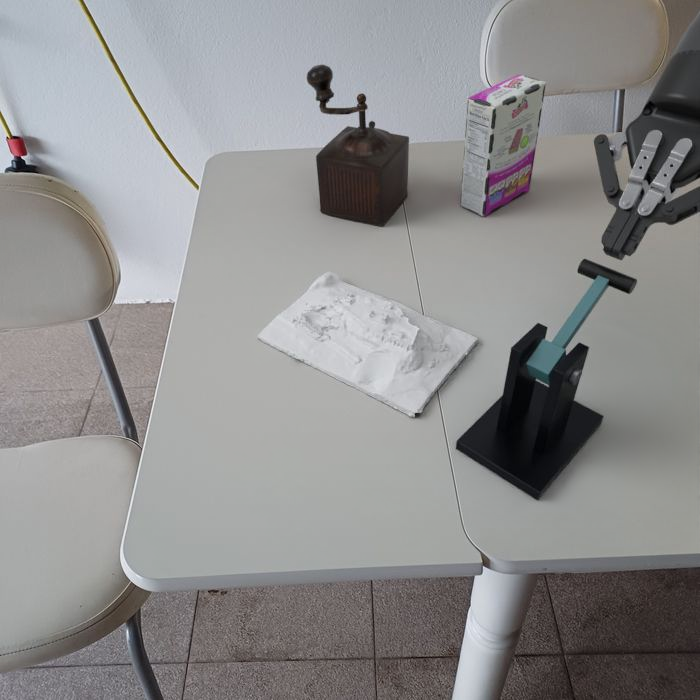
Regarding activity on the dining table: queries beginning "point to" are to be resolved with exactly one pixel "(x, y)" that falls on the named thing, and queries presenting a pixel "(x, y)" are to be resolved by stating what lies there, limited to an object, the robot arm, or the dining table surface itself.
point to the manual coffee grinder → (359, 163)
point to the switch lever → (576, 318)
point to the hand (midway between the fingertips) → (612, 255)
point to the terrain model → (369, 342)
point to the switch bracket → (533, 421)
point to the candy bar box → (500, 143)
